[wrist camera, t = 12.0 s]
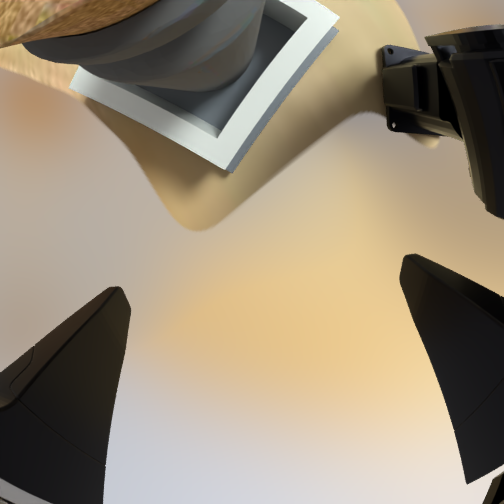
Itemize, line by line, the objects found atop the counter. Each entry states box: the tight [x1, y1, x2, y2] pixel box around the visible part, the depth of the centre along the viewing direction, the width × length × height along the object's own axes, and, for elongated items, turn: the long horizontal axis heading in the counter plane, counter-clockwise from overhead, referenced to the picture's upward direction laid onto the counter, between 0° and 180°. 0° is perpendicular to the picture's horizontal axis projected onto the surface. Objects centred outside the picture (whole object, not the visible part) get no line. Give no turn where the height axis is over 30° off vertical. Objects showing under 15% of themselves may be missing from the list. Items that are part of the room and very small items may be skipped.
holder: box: [69, 0, 340, 173], centre depth 12 cm, size 12×12×4 cm
